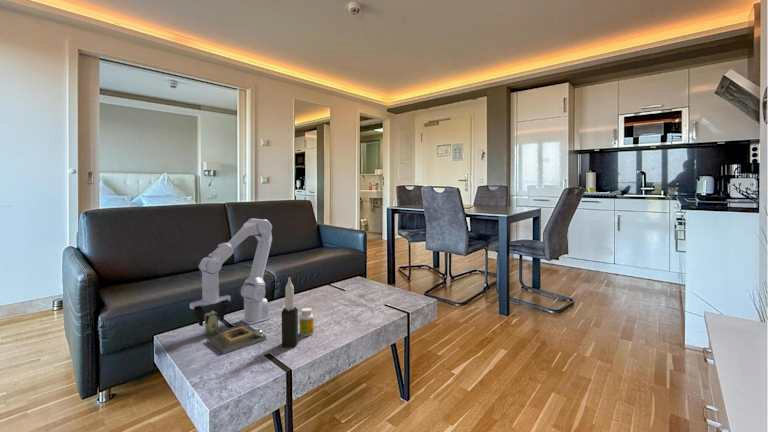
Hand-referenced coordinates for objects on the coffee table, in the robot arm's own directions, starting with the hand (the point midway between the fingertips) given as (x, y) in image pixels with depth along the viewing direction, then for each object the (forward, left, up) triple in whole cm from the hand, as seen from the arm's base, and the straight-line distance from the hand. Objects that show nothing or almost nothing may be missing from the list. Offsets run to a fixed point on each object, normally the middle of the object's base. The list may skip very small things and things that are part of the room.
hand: (211, 322), depth 134 cm
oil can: (0, 0, -5) cm, 5 cm away
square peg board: (-4, +13, -5) cm, 14 cm away
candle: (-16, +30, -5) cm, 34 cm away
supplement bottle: (-26, +26, -5) cm, 37 cm away
